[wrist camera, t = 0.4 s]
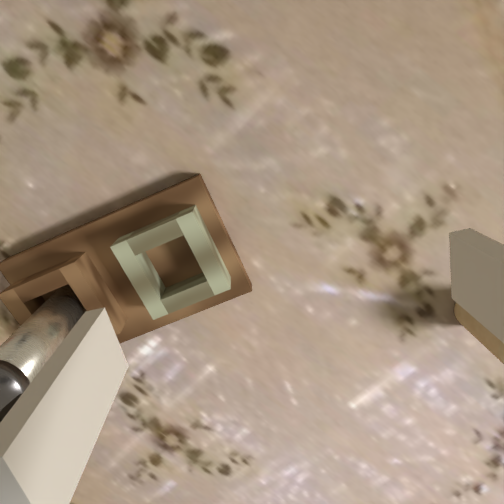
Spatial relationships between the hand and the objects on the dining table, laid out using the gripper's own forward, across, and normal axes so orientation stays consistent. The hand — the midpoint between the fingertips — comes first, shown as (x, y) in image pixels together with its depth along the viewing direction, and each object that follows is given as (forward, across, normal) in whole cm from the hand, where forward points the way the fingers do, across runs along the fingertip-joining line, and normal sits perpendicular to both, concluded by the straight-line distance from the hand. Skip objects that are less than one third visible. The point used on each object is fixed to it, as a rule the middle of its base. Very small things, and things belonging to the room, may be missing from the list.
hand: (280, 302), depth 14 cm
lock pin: (+26, -23, -8) cm, 35 cm away
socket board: (+28, -16, -7) cm, 33 cm away
